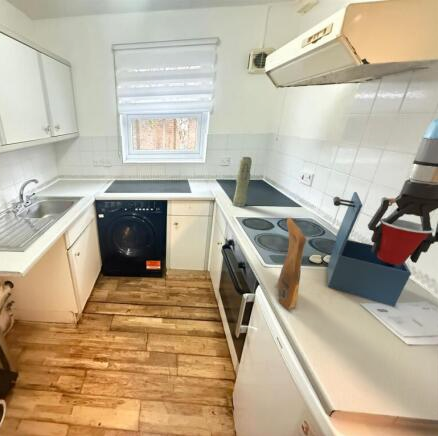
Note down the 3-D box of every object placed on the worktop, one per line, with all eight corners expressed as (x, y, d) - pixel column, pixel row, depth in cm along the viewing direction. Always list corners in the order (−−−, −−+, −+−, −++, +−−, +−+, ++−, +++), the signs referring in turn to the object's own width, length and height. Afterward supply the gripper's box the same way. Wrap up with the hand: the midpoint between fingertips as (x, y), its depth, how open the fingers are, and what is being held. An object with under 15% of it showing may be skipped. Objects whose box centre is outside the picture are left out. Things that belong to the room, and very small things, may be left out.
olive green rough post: (243, 202, 182) (251, 156, 169) (247, 207, 171) (255, 158, 158) (231, 202, 183) (238, 156, 170) (234, 207, 173) (241, 158, 159)
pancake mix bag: (274, 310, 80) (294, 236, 69) (272, 277, 96) (287, 214, 85) (297, 316, 78) (321, 240, 67) (291, 282, 94) (309, 216, 83)
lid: (356, 192, 91) (335, 188, 94) (362, 205, 77) (337, 200, 81) (338, 236, 99) (319, 232, 102) (341, 255, 85) (318, 249, 89)
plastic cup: (413, 258, 72) (431, 222, 67) (418, 274, 64) (438, 235, 60) (366, 246, 78) (380, 213, 74) (365, 260, 71) (380, 223, 66)
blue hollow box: (384, 280, 95) (398, 250, 89) (394, 306, 81) (411, 273, 76) (327, 265, 104) (337, 237, 99) (328, 286, 91) (339, 256, 86)
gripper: (480, 183, 59) (438, 260, 68) (371, 174, 70) (347, 242, 79) (497, 190, 54) (449, 273, 63) (376, 179, 65) (349, 251, 73)
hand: (392, 256), depth 71 cm, fingers closed on plastic cup, 8 cm apart
